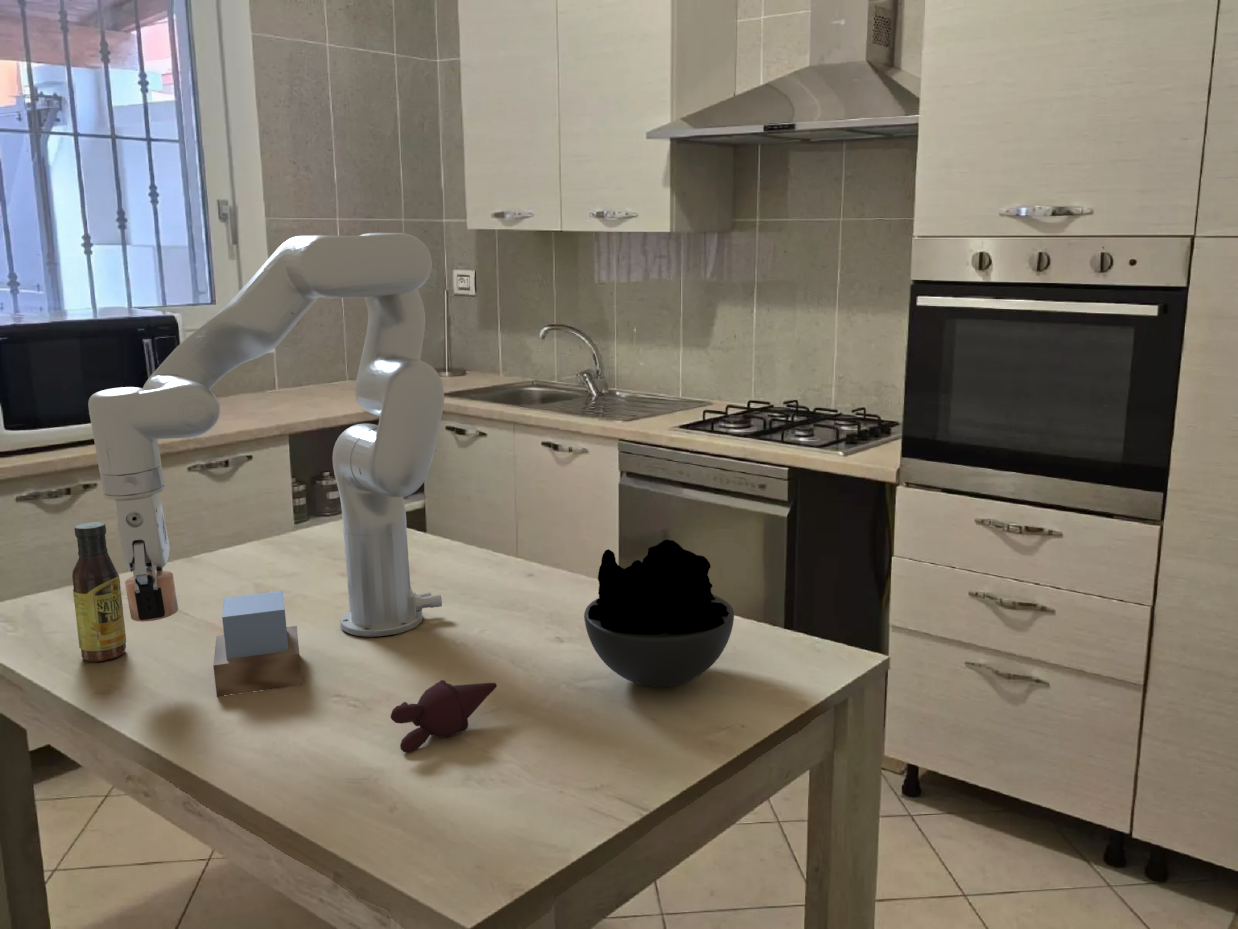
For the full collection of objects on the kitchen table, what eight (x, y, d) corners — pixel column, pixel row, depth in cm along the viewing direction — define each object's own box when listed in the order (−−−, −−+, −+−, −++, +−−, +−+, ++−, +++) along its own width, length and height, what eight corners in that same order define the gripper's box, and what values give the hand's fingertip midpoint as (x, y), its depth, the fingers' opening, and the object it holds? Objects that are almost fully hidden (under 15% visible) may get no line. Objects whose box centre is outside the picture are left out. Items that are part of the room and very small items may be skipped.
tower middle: (286, 630, 155) (282, 590, 154) (288, 650, 148) (284, 609, 146) (227, 638, 153) (223, 598, 151) (226, 659, 145) (222, 617, 144)
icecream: (472, 657, 140) (372, 703, 130) (505, 659, 134) (404, 708, 124) (486, 707, 140) (388, 757, 131) (520, 711, 135) (420, 764, 125)
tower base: (299, 657, 158) (296, 625, 157) (302, 688, 148) (299, 653, 147) (219, 668, 155) (216, 636, 154) (217, 700, 145) (213, 665, 143)
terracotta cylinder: (179, 601, 151) (174, 568, 150) (177, 616, 145) (171, 581, 144) (133, 609, 149) (127, 574, 148) (128, 624, 143) (122, 589, 142)
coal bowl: (748, 661, 153) (749, 533, 148) (711, 722, 134) (711, 578, 130) (615, 645, 159) (613, 522, 155) (563, 701, 141) (558, 564, 137)
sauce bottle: (109, 665, 156) (91, 532, 151) (71, 662, 157) (52, 531, 152) (138, 647, 162) (121, 520, 157) (101, 645, 163) (83, 518, 159)
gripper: (159, 493, 136) (180, 627, 140) (167, 463, 152) (186, 584, 156) (93, 501, 134) (117, 637, 138) (109, 470, 149) (130, 593, 154)
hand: (154, 608), depth 147 cm, fingers closed on terracotta cylinder, 6 cm apart
